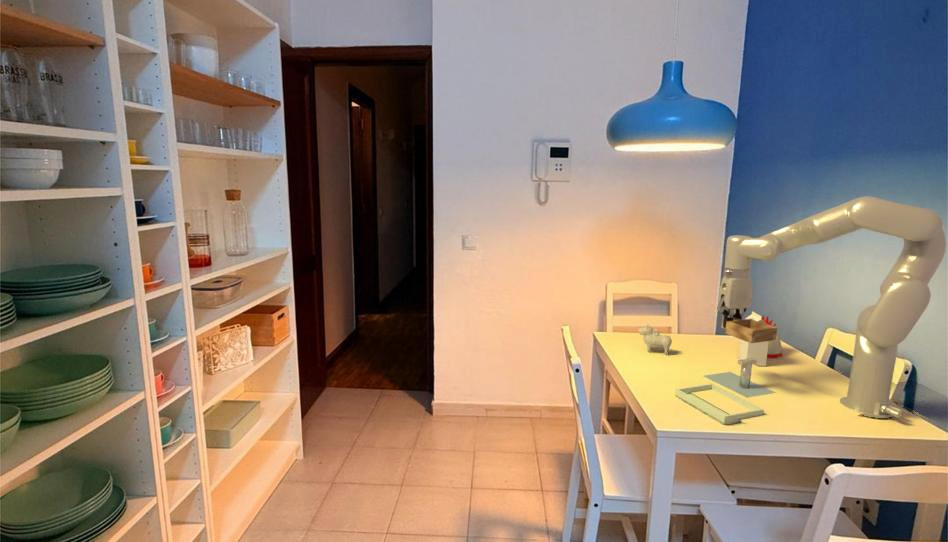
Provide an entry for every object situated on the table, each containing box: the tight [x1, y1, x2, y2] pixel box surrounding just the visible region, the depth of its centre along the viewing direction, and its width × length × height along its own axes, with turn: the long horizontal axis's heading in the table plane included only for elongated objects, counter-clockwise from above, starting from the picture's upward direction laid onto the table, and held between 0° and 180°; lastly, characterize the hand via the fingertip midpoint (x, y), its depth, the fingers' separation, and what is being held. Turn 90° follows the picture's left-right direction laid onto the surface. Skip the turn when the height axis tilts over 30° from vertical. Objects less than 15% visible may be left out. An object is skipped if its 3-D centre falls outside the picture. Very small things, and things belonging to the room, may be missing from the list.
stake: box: [737, 358, 756, 389], centre depth 156 cm, size 3×6×9 cm, turn 108°
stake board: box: [703, 371, 777, 398], centre depth 159 cm, size 18×12×1 cm, turn 18°
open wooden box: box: [721, 315, 778, 343], centre depth 156 cm, size 15×10×4 cm, turn 18°
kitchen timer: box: [761, 315, 783, 359], centre depth 192 cm, size 14×14×15 cm
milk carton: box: [737, 311, 769, 367], centre depth 179 cm, size 7×7×19 cm
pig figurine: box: [637, 324, 673, 356], centre depth 192 cm, size 5×13×11 cm, turn 61°
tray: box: [675, 383, 765, 426], centre depth 145 cm, size 19×14×2 cm
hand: (731, 327), depth 161 cm, fingers closed on open wooden box, 3 cm apart
